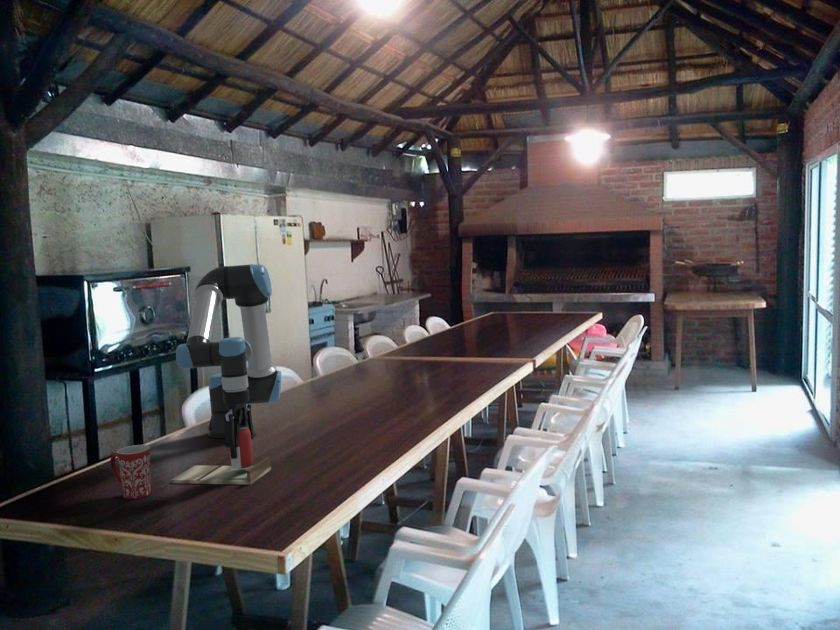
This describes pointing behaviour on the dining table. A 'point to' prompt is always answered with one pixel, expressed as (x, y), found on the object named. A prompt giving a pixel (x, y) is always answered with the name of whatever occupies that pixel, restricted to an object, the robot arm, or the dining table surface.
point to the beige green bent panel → (224, 474)
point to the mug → (133, 470)
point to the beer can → (244, 447)
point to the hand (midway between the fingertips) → (242, 464)
